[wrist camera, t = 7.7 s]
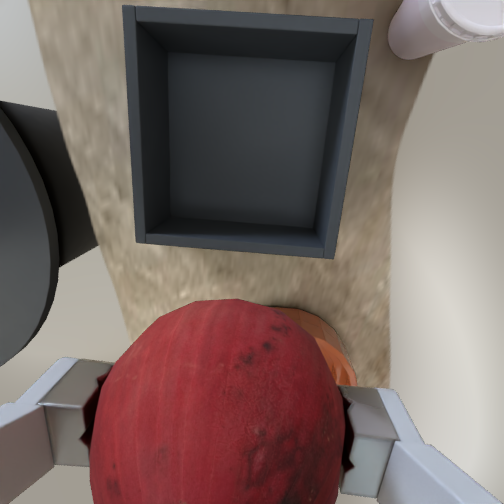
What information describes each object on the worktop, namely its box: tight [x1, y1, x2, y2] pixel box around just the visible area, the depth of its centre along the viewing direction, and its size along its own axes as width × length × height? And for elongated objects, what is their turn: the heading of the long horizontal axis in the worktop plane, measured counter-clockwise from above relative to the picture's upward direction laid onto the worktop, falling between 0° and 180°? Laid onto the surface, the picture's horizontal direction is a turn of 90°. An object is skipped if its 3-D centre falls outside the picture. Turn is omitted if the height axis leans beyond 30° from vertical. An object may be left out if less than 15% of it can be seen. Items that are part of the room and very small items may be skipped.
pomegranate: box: [89, 299, 346, 504], centre depth 7 cm, size 6×6×8 cm
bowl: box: [272, 307, 357, 386], centre depth 31 cm, size 14×14×4 cm
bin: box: [122, 5, 374, 259], centre depth 23 cm, size 15×15×7 cm
